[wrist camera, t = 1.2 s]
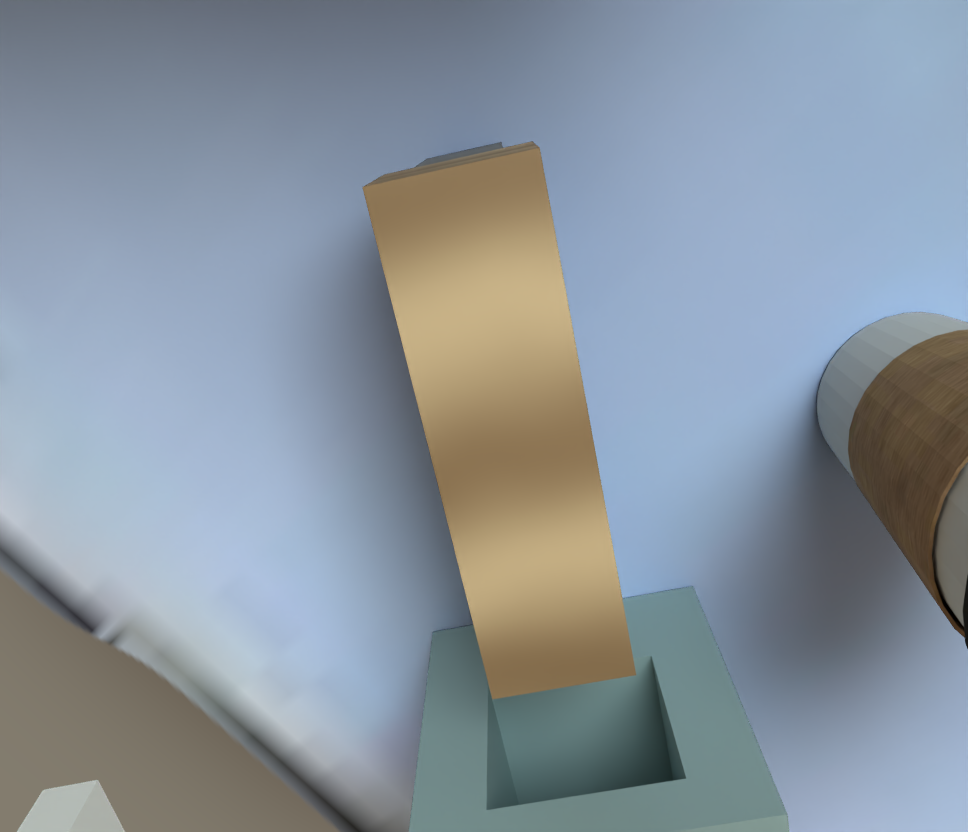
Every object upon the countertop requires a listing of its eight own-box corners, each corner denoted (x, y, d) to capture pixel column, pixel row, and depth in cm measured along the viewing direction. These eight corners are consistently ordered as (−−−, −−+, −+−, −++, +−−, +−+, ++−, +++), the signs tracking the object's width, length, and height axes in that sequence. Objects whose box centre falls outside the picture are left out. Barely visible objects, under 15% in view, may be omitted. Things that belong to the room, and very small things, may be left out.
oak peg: (384, 174, 23) (362, 186, 19) (532, 141, 22) (539, 147, 19) (493, 618, 27) (492, 699, 24) (616, 596, 27) (636, 675, 23)
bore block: (432, 631, 33) (403, 873, 22) (692, 585, 32) (787, 814, 22) (477, 793, 35) (468, 1076, 25) (718, 755, 35) (813, 1031, 24)
